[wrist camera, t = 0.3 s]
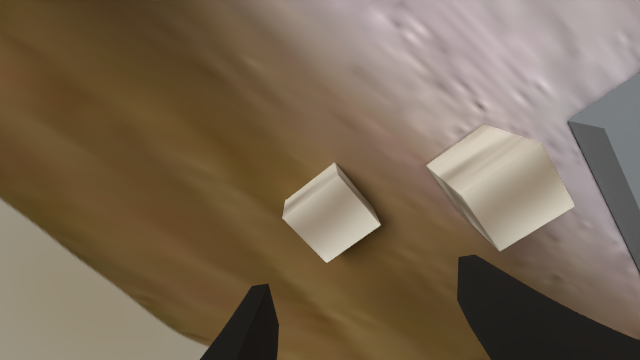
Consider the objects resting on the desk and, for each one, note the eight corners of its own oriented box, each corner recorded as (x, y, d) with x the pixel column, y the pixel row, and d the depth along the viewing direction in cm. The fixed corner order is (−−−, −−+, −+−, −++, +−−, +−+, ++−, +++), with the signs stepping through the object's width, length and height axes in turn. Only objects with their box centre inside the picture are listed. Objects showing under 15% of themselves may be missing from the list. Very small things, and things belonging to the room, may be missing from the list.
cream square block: (513, 173, 20) (575, 205, 16) (457, 210, 21) (499, 251, 16) (484, 124, 19) (541, 142, 14) (425, 165, 20) (461, 195, 15)
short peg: (372, 207, 21) (380, 225, 19) (324, 242, 22) (326, 262, 20) (334, 162, 20) (338, 175, 17) (285, 200, 21) (282, 217, 18)
